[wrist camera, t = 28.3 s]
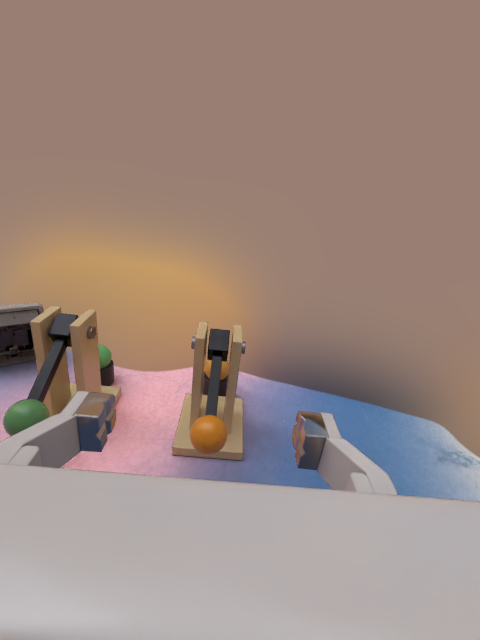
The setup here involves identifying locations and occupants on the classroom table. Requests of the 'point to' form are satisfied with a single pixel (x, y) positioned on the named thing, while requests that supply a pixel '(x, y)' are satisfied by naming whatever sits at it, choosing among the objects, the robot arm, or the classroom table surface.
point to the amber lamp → (222, 378)
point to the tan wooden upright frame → (227, 406)
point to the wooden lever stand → (83, 358)
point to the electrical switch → (17, 332)
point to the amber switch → (212, 400)
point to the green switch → (41, 380)
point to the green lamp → (106, 366)
